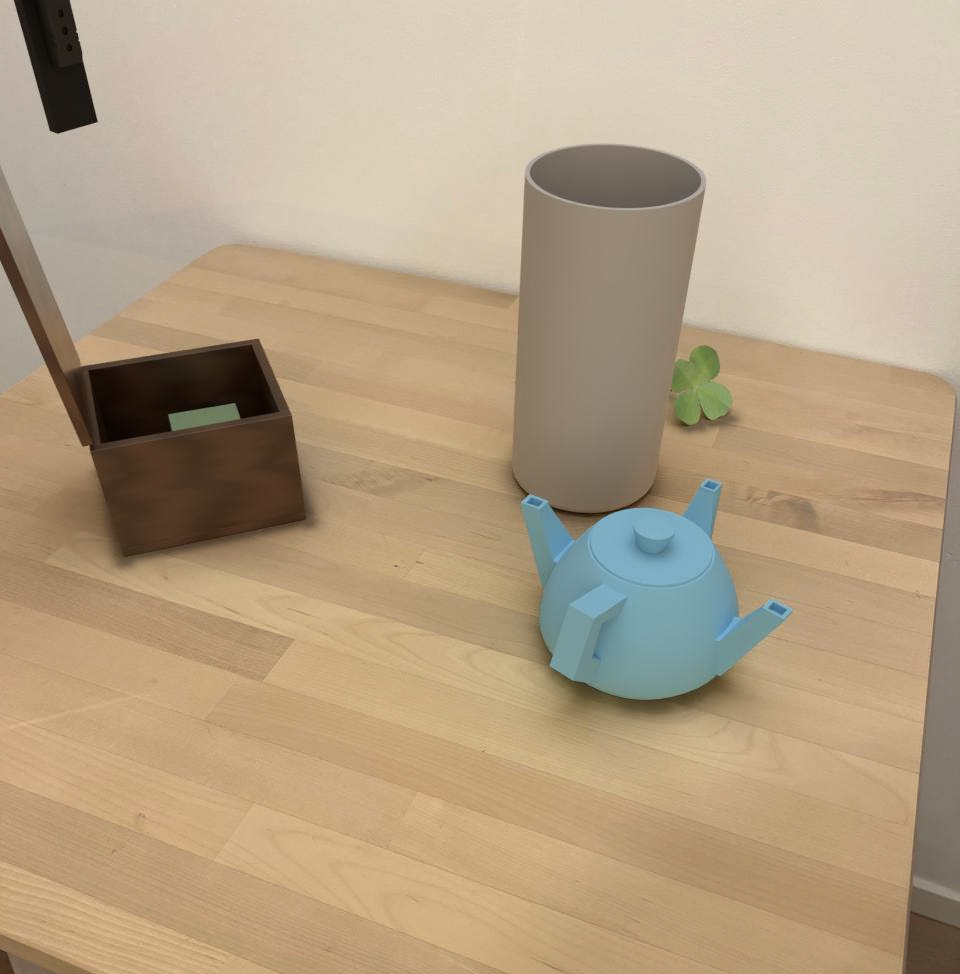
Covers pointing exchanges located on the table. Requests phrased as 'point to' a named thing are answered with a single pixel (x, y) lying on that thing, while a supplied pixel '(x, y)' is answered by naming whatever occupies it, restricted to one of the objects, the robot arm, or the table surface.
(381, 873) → the table surface
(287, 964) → the table surface
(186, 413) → the block
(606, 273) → the cylinder vase
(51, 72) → the robot arm
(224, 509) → the chest
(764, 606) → the teapot
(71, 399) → the lid
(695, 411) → the green clover leaf
